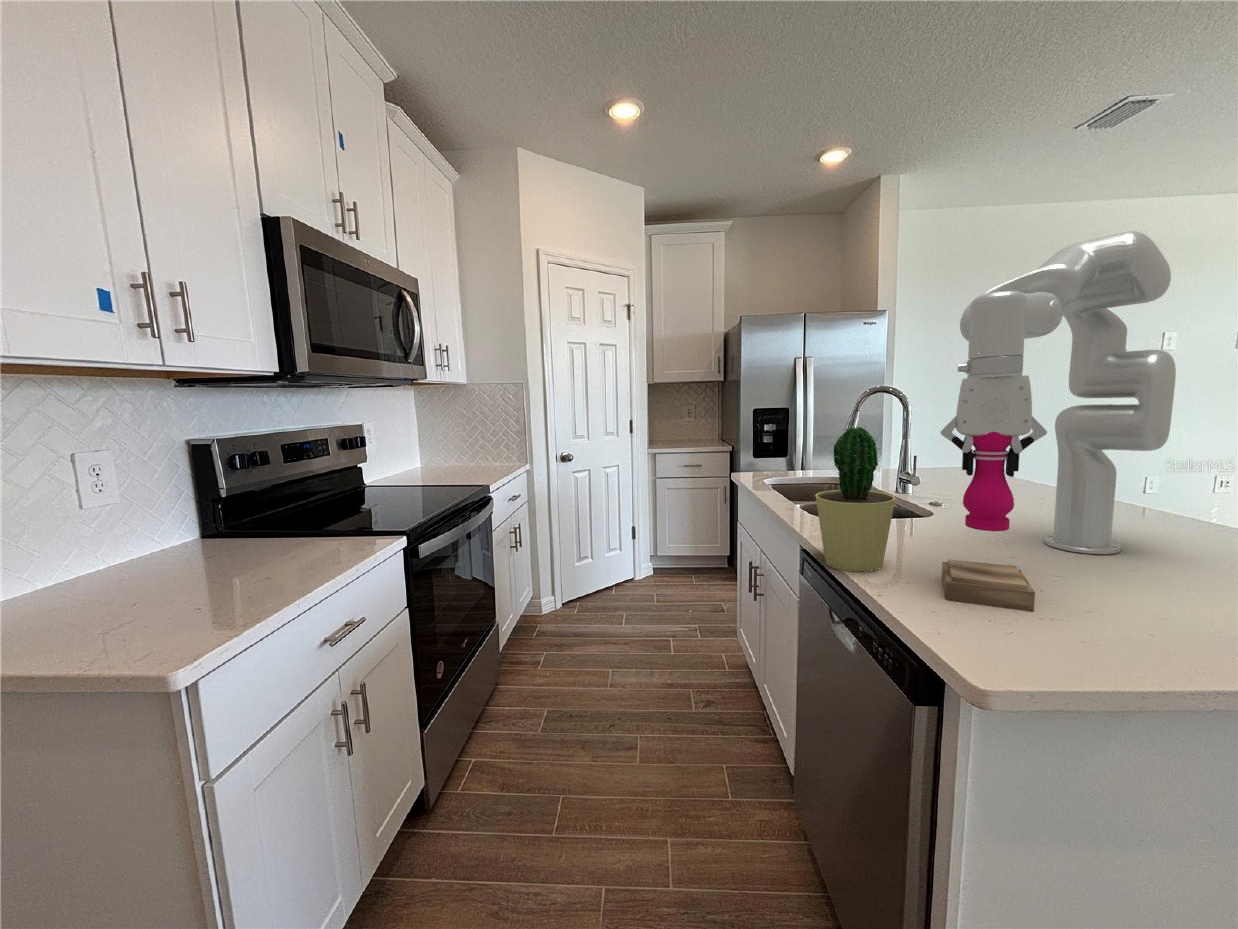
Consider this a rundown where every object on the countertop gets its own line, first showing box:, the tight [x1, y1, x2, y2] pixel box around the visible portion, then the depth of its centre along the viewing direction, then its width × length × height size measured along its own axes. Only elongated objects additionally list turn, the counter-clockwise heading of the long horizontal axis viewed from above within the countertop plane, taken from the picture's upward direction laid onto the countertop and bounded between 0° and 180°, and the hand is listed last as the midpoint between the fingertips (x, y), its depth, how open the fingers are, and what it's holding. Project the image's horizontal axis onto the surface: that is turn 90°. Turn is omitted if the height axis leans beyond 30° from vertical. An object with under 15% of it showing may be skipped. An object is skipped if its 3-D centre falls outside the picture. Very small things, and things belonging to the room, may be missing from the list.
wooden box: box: [941, 559, 1036, 612], centre depth 90 cm, size 12×12×4 cm
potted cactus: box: [814, 426, 896, 573], centre depth 107 cm, size 15×15×30 cm
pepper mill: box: [962, 432, 1015, 532], centre depth 87 cm, size 7×7×20 cm
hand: (989, 473), depth 87 cm, fingers closed on pepper mill, 5 cm apart
